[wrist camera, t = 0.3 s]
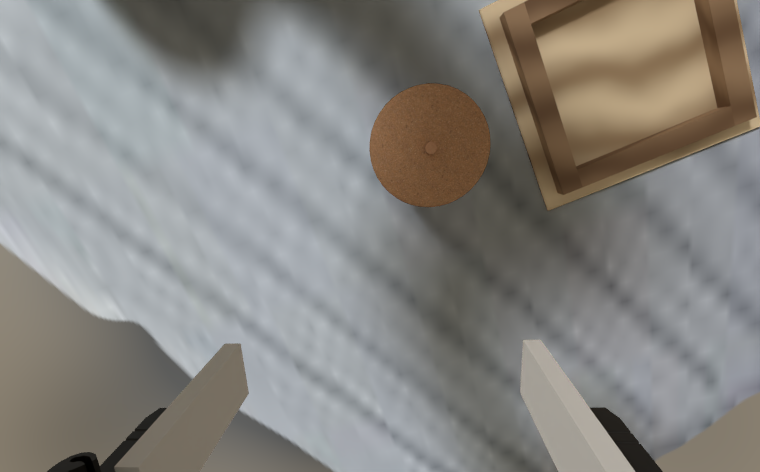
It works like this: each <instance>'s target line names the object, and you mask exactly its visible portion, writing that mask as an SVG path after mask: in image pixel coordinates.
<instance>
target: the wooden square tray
mask: <svg viewBox="0 0 760 472" xmlns="http://www.w3.org/2000/svg"><path fill="white" fill-rule="evenodd" d="M479 12H480V15H481V18H482V21H483V24H484V27H485V30H486V33H487V36H488V39H489V42H490V44H491V47H492V50H493V53H494V56H495V59H496V62H497V65H498V68H499V71H500V74H501V77H502V79H503V82H504V85H505V88H506V91H507V94H508V97H509V100H510V103H511V106H512V109H513V112H514V114H515V117H516V120H517V123H518V126H519V129H520V132H521V135H522V138H523V141H524V144H525V146H526V149H527V152H528V155H529V158H530V161H531V164H532V167H533V170H534V173H535V176H536V179H537V181H538V184H539V187H540V190H541V193H542V196H543V199H544V202H545V205H546V208H547V210H548V211H549V210H552V209H554V208H557V207H559V206H562V205H564V204H567V203H569V202H572V201H574V200H577V199H579V198H582V197H584V196H587V195H589V194H592V193H594V192H597V191H599V190H602V189H604V188H607V187H609V186H612V185H614V184H617V183H619V182H622V181H624V180H627V179H629V178H632V177H634V176H637V175H639V174H642V173H644V172H647V171H649V170H652V169H654V168H657V167H659V166H662V165H664V164H667V163H669V162H672V161H674V160H677V159H679V158H682V157H684V156H687V155H689V154H692V153H694V152H697V151H699V150H702V149H704V148H707V147H709V146H712V145H714V144H717V143H720V142H722V141H725V140H727V139H730V138H732V137H735V136H737V135H740V134H742V133H745V132H747V131H750V130H752V129H755V128H757V127H760V118H759V113H758V108H757V102H756V97H755V92H754V87H753V82H752V77H751V72H750V66H749V61H748V56H747V51H746V46H745V41H744V36H743V30H742V25H741V20H740V15H739V10H738V5H737V0H498V1H496V2H494V3H492V4H490V5H488V6H486V7H484V8H482V9H480V10H479Z"/></svg>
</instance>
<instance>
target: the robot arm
mask: <svg viewBox="0 0 760 472" xmlns="http://www.w3.org/2000/svg"><path fill="white" fill-rule="evenodd" d="M520 393H521V395H522V397H523V400H524V402H525V404H526V406H527V408H528V410H529V412H530V414H531V416H532V418H533V420H534V422H535V425H536V427H537V429H538V431H539V433H540V435H541V437H542V439H543V441H544V443H545V445H546V447H547V449H548V452H549V454H550V456H551V458H552V460H553V462H554V464H555V466H556V468H557V470H558V472H662V470H661V469H660V468H659V467H658V465H657V464H656V463H655V462H654V460H653V459H652V458H651V457H650V455H649V454H648V453H647V452H646V450H645V449H644V448H643V447H642V445H641V444H639V442H638V440H637V439H636V438H635V437H634V435H633V434H631V433H630V430H629V429H628V428H627V427H626V425H625V424H624V423H623V422H622V420H621V419H620V418H619V417H617V416H616V415H614V414H613V413H612V412H610V411H609V410H608V409H606V408H589V406H588V405H587V404H586V402H585V401H584V399H583V398H582V397H581V395H580V394H579V392H578V391H577V390H576V388H575V387H574V386H573V384H572V383H571V381H570V380H569V379H568V377H567V376H566V374H565V373H564V372H563V370H562V369H561V367H560V366H559V365H558V363H557V362H556V360H555V359H554V358H553V356H552V355H551V354H550V352H549V351H548V349H547V348H546V347H545V345H544V344H543V342H542V341H541V340H523V352H522V370H521V388H520ZM248 394H249V392H248V386H247V380H246V374H245V368H244V362H243V356H242V350H241V344H224V345H223V346H222V348H221V349H220V350H219V351H218V352H217V353H216V354H215V355H214V356H213V358H212V359H211V360H210V361H209V362H208V363H207V364H206V365H205V366H204V368H203V369H202V370H201V371H200V372H199V373H198V374H197V375H196V376H195V378H194V379H193V380H192V381H191V382H190V383H189V384H188V385H187V386H186V388H185V389H184V390H183V391H182V392H181V393H180V394H179V395H178V397H177V398H176V399H175V400H174V401H173V402H172V403H171V404H170V405H169V407H168V408H160V409H158V410H157V411H155V412H154V413H152V414H151V415H149V416H148V417H146V418H145V419H144V420H143V421H142V422H141V424H140V425H139V426H138V427H137V428H136V429H135V431H134V432H132V433H131V434H130V435H129V436H128V437H127V439H126V441H123V442H122V443H121V445H120V446H119V447H118V448H117V449H116V450H115V451H114V452H113V453H112V454H111V455H110V456H109V457H108V458H107V459H106V460H105V461H104V463H103V464H102V465H101V466H99V463H98V460H97V457H96V454H94V453H90V452H87V453H79V454H76V455H73V456H70V457H69V458H67V459H65V460H63V461H61V462H59V463H58V464H56V465H55V466H53V467H52V468H51V469H49V470H48V471H47V472H200V471H201V469H202V467H203V466H204V464H205V462H206V461H207V459H208V458H209V456H210V455H211V453H212V451H213V449H214V448H215V447H216V445H217V443H218V442H219V440H220V439H221V437H222V435H223V434H224V432H225V430H226V429H227V427H228V426H229V424H230V422H231V421H232V419H233V417H234V416H235V414H236V413H237V411H238V410H239V408H240V406H241V405H242V403H243V402H244V400H245V398H246V397H247V395H248Z"/></svg>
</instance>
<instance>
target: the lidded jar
mask: <svg viewBox="0 0 760 472" xmlns="http://www.w3.org/2000/svg"><path fill="white" fill-rule="evenodd" d="M489 153H490V133H489V128H488V124H487V122H486V119H485V116H484V115H483V113H482V111H481V110H480V108H479V107H478V105H477V104H476V103H475V102H474V101H473V100H472V99H471V98H470V97H469V96H468V95H466V94H465V93H463V92H462V91H460V90H458V89H456V88H453V87H451V86H448V85H443V84H435V83H427V84H421V85H416V86H413V87H410V88H408V89H406V90H404V91H402V92H400V93H399V94H397V95H396V96H395V97H393V98H392V99H391V100H390V101H389V102H388V103H387V104H386V105H385V106H384V108H383V109H382V110H381V112H380V113H379V115H378V117H377V119H376V121H375V123H374V126H373V129H372V132H371V138H370V157H371V162H372V166H373V169H374V171H375V174H376V176H377V178H378V179H379V181H380V182H381V184H382V185H383V186H384V187H385V188H386V190H387V191H388V192H389V193H391V194H392V195H393V196H395V197H396V198H398V199H399V200H401V201H403V202H405V203H408V204H411V205H415V206H420V207H435V206H441V205H445V204H448V203H451V202H453V201H455V200H457V199H459V198H460V197H462V196H463V195H465V194H466V193H467V192H468V191H469V190H471V189H472V188H473V186H474V185H475V184H476V183H477V182H478V180H479V179H480V177H481V175H482V174H483V172H484V170H485V167H486V165H487V162H488V158H489Z"/></svg>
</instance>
